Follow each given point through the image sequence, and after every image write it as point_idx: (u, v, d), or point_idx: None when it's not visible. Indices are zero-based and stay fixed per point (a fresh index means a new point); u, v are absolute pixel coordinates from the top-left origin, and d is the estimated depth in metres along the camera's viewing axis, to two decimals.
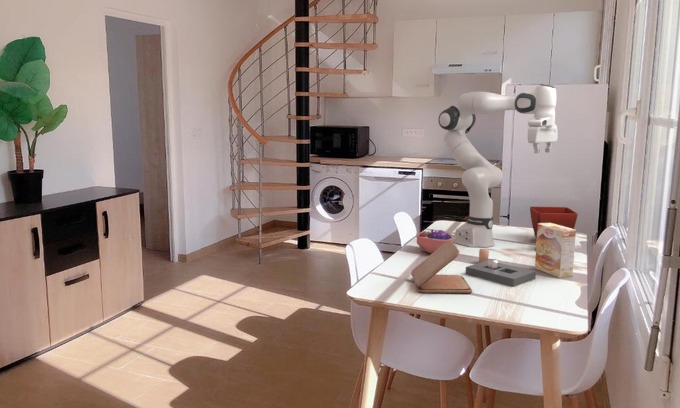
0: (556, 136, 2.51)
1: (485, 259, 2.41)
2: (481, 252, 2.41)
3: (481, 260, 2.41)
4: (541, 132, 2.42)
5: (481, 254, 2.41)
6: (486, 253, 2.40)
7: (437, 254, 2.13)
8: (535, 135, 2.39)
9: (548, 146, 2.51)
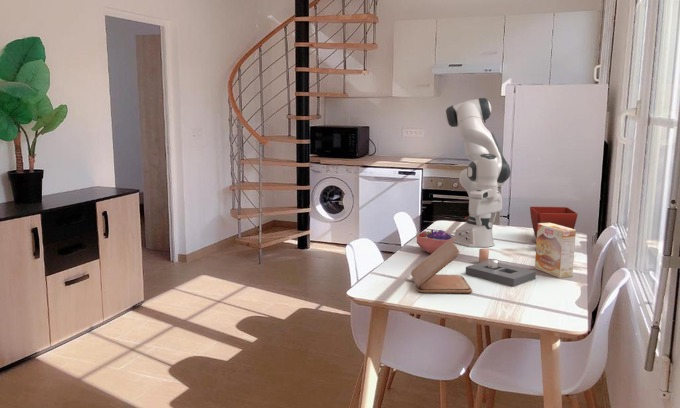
0: (500, 206, 2.43)
1: (485, 259, 2.41)
2: (481, 252, 2.41)
3: (481, 260, 2.41)
4: (483, 204, 2.34)
5: (481, 254, 2.41)
6: (486, 253, 2.40)
7: (437, 254, 2.13)
8: (476, 208, 2.31)
9: (492, 216, 2.43)
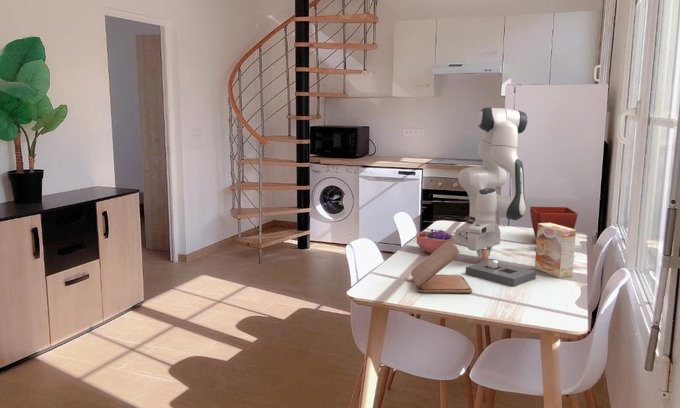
0: (499, 239, 2.45)
1: (485, 259, 2.41)
2: None
3: (481, 260, 2.41)
4: (481, 238, 2.37)
5: None
6: (486, 253, 2.40)
7: (437, 254, 2.13)
8: (474, 243, 2.33)
9: None
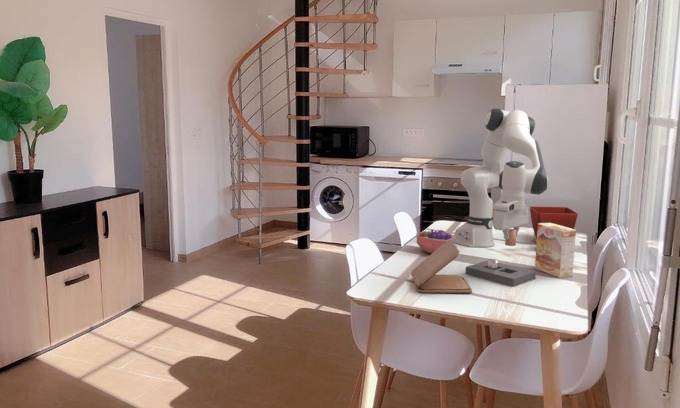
0: (527, 218, 2.21)
1: (512, 240, 2.16)
2: (508, 232, 2.16)
3: (508, 241, 2.17)
4: (508, 217, 2.12)
5: None
6: (513, 233, 2.16)
7: (437, 254, 2.13)
8: (501, 222, 2.09)
9: None
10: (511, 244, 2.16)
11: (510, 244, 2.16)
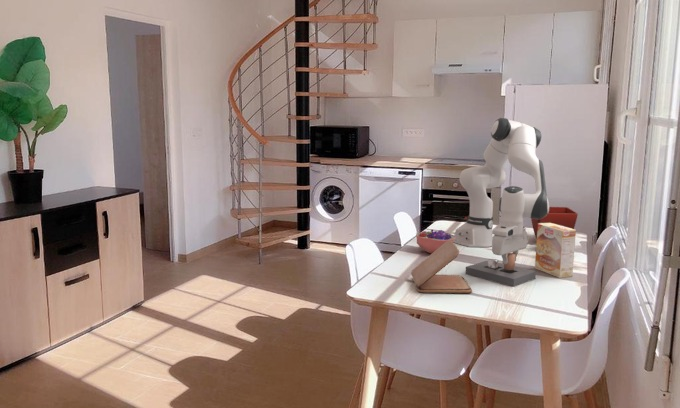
0: (525, 242, 2.23)
1: (511, 264, 2.18)
2: (507, 257, 2.18)
3: (507, 265, 2.18)
4: (507, 242, 2.14)
5: None
6: (512, 258, 2.17)
7: (437, 254, 2.13)
8: (500, 247, 2.10)
9: None
10: (510, 268, 2.18)
11: (509, 269, 2.18)
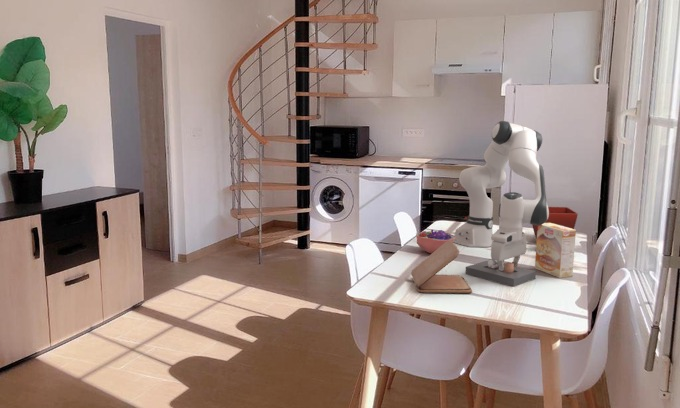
0: (524, 248, 2.23)
1: None
2: (506, 266, 2.19)
3: None
4: (506, 248, 2.14)
5: (505, 268, 2.19)
6: (511, 267, 2.18)
7: (437, 254, 2.13)
8: (499, 253, 2.11)
9: (515, 259, 2.23)
10: None
11: None
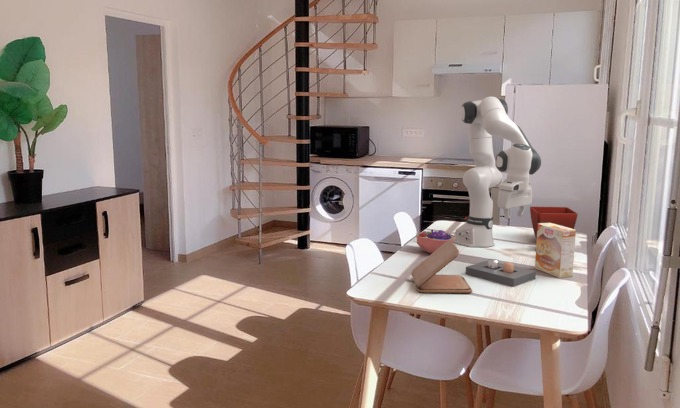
0: (530, 199, 2.31)
1: None
2: (506, 266, 2.18)
3: None
4: (513, 197, 2.23)
5: (506, 268, 2.19)
6: (511, 267, 2.18)
7: (437, 254, 2.13)
8: (505, 201, 2.19)
9: (521, 209, 2.31)
10: None
11: None
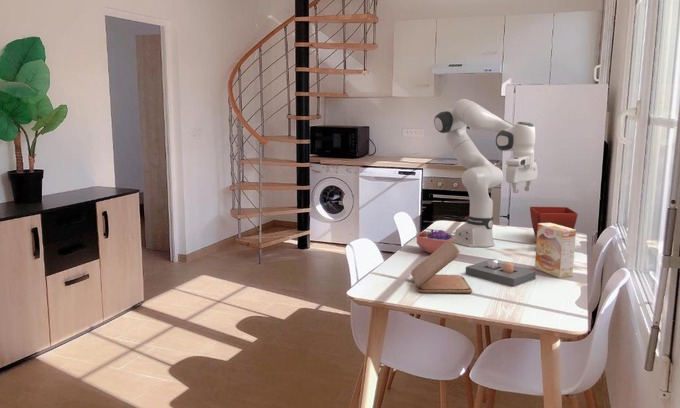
0: (536, 174, 2.44)
1: None
2: (506, 266, 2.18)
3: None
4: (520, 171, 2.35)
5: (506, 268, 2.19)
6: (511, 267, 2.18)
7: (437, 254, 2.13)
8: (513, 175, 2.32)
9: (528, 184, 2.44)
10: None
11: None
